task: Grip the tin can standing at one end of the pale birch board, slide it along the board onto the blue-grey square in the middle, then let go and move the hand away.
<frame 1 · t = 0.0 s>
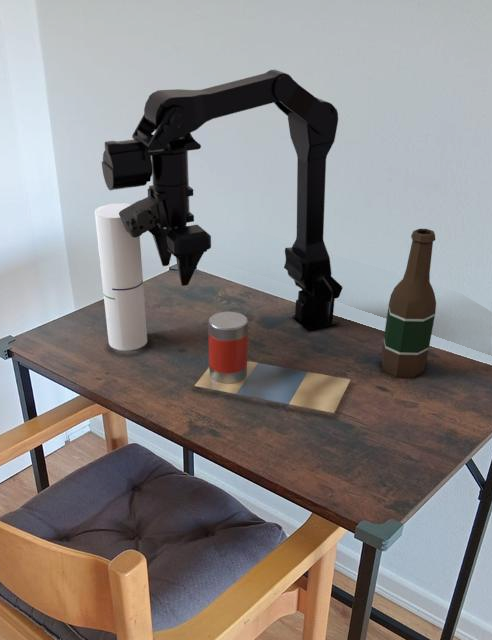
hand: (174, 275, 128), 15 cm above the table, tool pointing down, fingers open, 9 cm apart
board: (272, 387, 127), on the table
tin can: (228, 374, 129), point 1 cm above the table, touching board
beer bottle: (402, 368, 131), on the table
cylindrical container: (128, 346, 140), on the table
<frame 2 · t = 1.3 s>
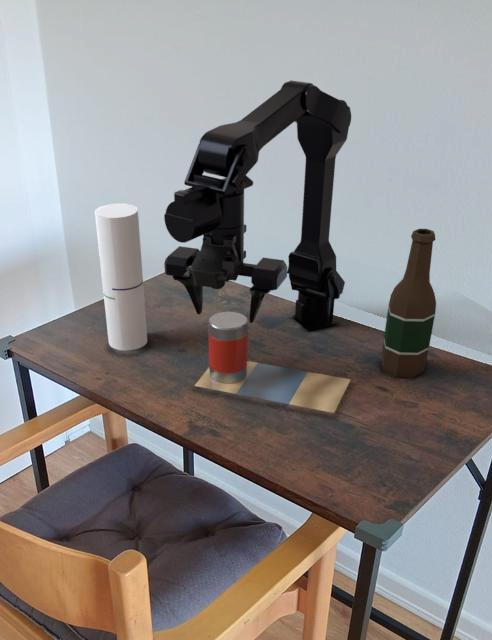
hand: (225, 317, 123), 11 cm above the table, tool pointing down, fingers open, 9 cm apart
nothing on the table moved.
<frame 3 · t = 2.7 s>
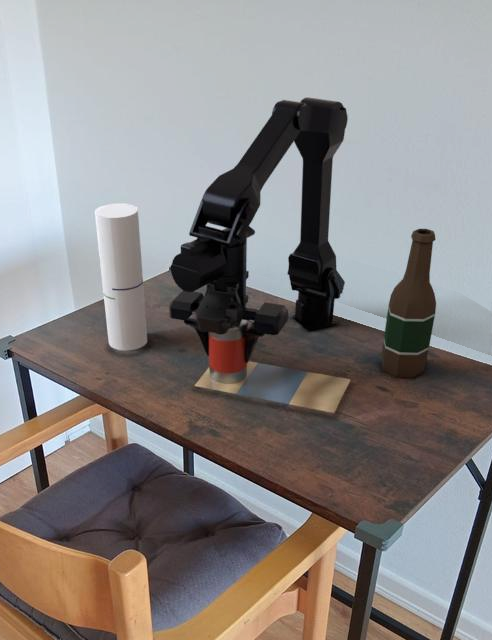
hand: (228, 358, 127), 4 cm above the table, tool pointing down, fingers closed on tin can, 6 cm apart
tin can: (228, 374, 129), point 1 cm above the table, touching board, gripper
everything else where it was.
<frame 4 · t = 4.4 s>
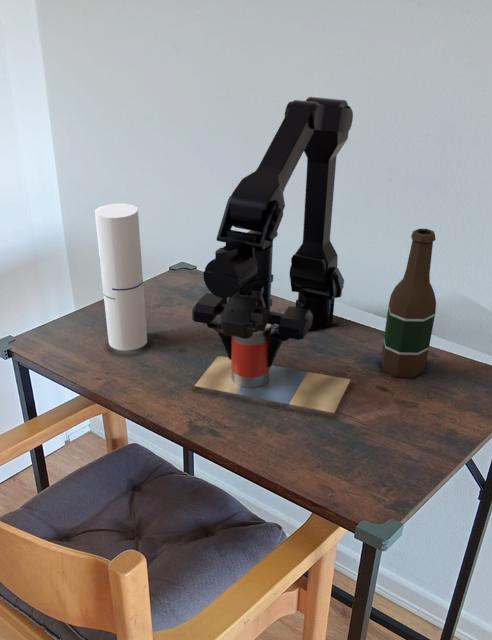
hand: (250, 362, 126), 4 cm above the table, tool pointing down, fingers closed on tin can, 6 cm apart
tin can: (250, 378, 127), point 1 cm above the table, touching board, gripper
everything else where it was.
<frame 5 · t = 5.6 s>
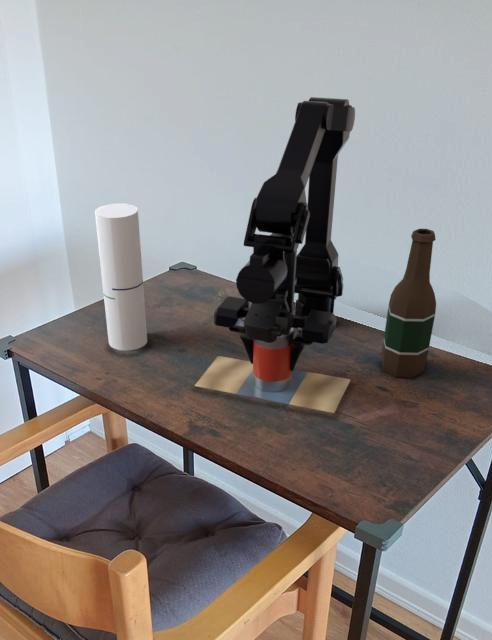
hand: (272, 366, 124), 4 cm above the table, tool pointing down, fingers closed on tin can, 6 cm apart
tin can: (271, 382, 126), point 1 cm above the table, touching board, gripper
everything else where it was.
when the fingers open (4 cm above the table, at t = 6.2 s): tin can stays where it is, resting on board.
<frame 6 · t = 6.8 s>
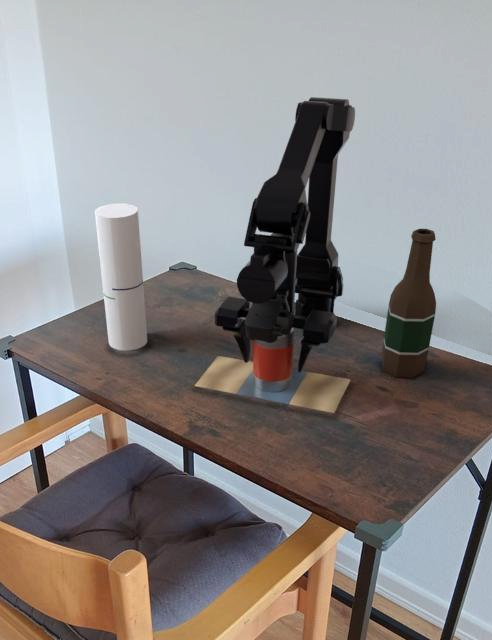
hand: (273, 366, 124), 4 cm above the table, tool pointing down, fingers open, 9 cm apart
tin can: (271, 382, 126), point 1 cm above the table, touching board
everything else where it was.
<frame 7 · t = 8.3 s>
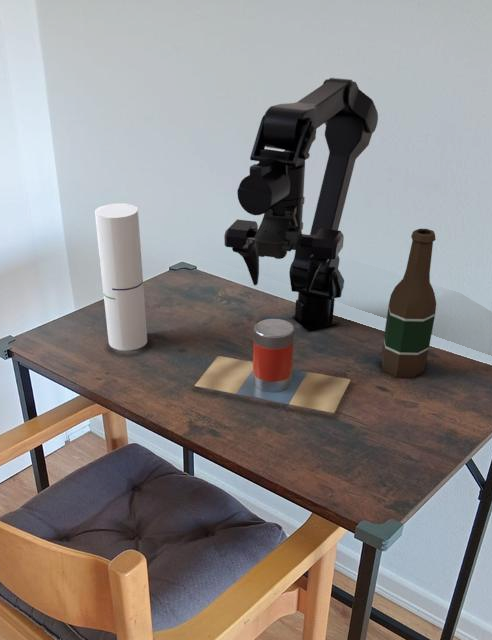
hand: (281, 288, 128), 13 cm above the table, tool pointing down, fingers open, 9 cm apart
nothing on the table moved.
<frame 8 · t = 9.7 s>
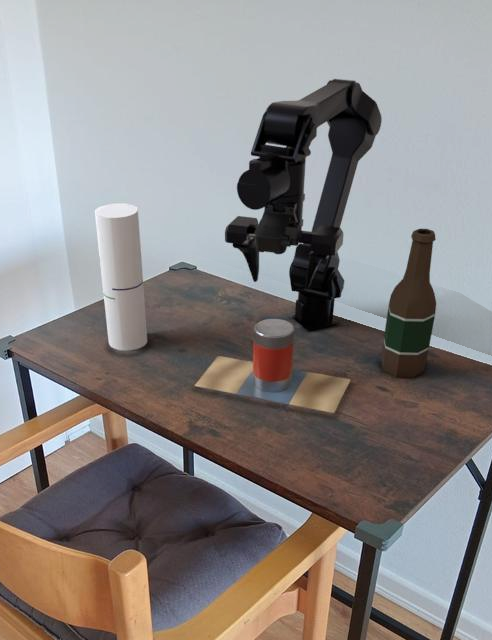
hand: (281, 284, 128), 13 cm above the table, tool pointing down, fingers open, 9 cm apart
nothing on the table moved.
at the end: tin can 0.2 cm from the board (horizontally); tin can tilted 0°; the gripper is holding nothing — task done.
